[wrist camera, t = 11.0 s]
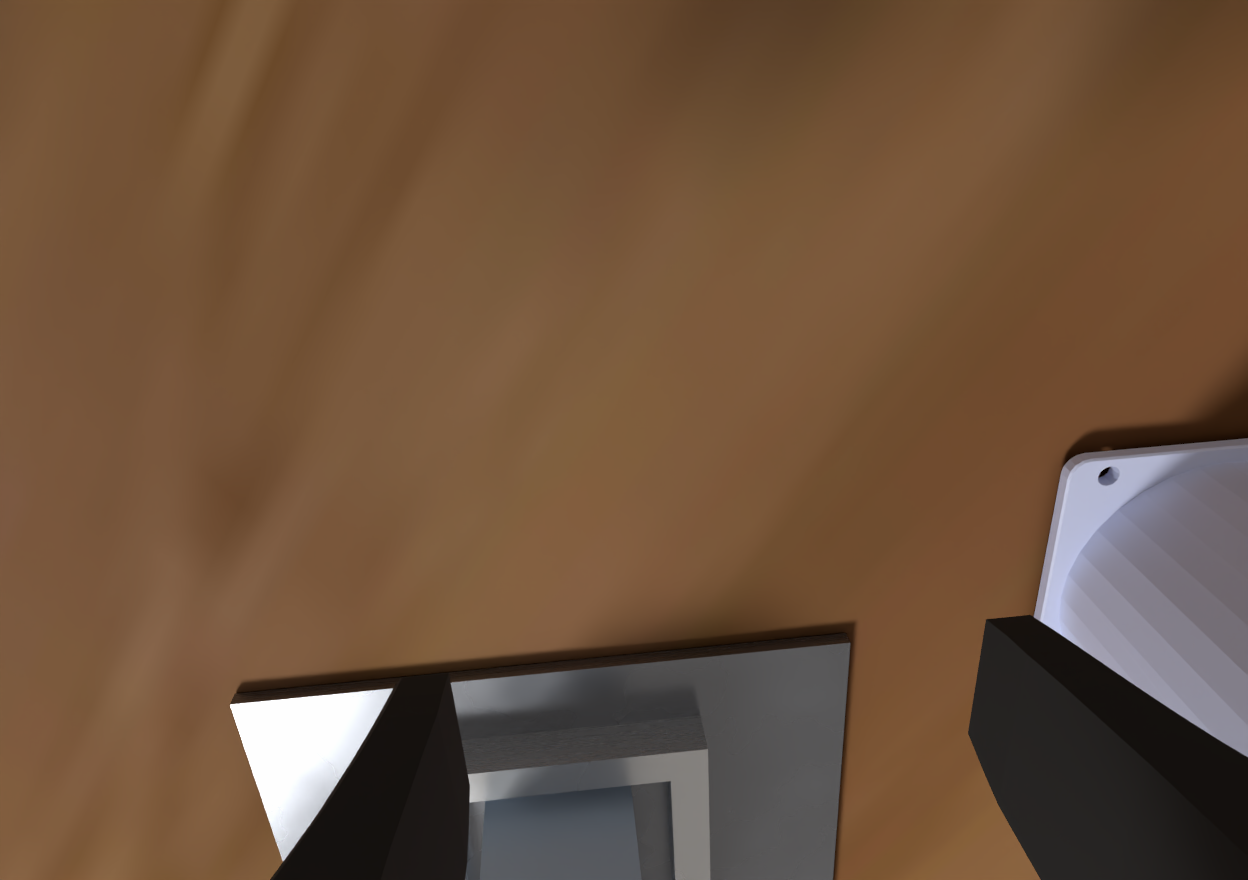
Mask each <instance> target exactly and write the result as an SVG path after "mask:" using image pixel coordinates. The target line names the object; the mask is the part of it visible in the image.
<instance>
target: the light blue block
mask: <svg viewBox="0 0 1248 880" xmlns="http://www.w3.org/2000/svg"><path fill="white" fill-rule="evenodd" d="M480 880H642V879H641V870H640V861H639V852H638V843H637V835H636V826H635V817H634V808H633V799H632V791H631V785H629V786H620V787H611V788H601V789H592V790H582V791H573V792H564V793H554V794H545V795H536V796H526V797H517V798H507V799H498V800H489V801H485V811H484V825H483V839H482V854H481V868H480Z"/></svg>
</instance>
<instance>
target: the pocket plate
mask: <svg viewBox="0 0 1248 880" xmlns="http://www.w3.org/2000/svg"><path fill="white" fill-rule="evenodd" d="M849 656H850V641H849V639H848V636H847V634H846V633H840V634H830V635H820V636H810V637H800V638H790V639H780V640H770V641H760V642H750V643H740V644H730V645H720V646H709V647H699V648H689V649H679V650H669V651H659V652H649V653H639V654H629V655H619V656H609V657H599V658H589V659H579V660H569V661H559V662H549V663H539V664H529V665H518V666H508V667H498V668H488V669H478V670H468V671H458V672H448V673H449V676H450V681H451V687H452V692H453V697H454V703H455V708H456V713H457V719H458V724H459V729H460V735H461V740H462V745H463V751H464V756H465V762H466V767H467V772H468V778H469V783H470V803H469V834H468V858H467V868H466V876H465V880H480V868H481V854H482V839H483V825H484V811H485V801H489V800H498V799H507V798H517V797H526V796H536V795H545V794H554V793H564V792H573V791H582V790H592V789H601V788H611V787H620V786H629V785H631V791H632V799H633V808H634V817H635V826H636V835H637V843H638V852H639V861H640V870H641V879H642V880H833V871H834V858H835V844H836V831H837V817H838V804H839V790H840V777H841V763H842V750H843V736H844V723H845V709H846V696H847V683H848V669H849ZM438 674H443V673H438ZM428 675H433V674H428ZM418 676H423V675H418ZM408 677H413V676H408ZM401 678H403V677H398V678H388V679H378V680H368V681H358V682H348V683H338V684H327V685H317V686H307V687H297V688H287V689H277V690H267V691H257V692H247V693H237V694H235V695H234V697H233V699H232V702H231V704H230V706H231V709H232V712H233V715H234V718H235V721H236V724H237V727H238V730H239V733H240V736H241V739H242V742H243V745H244V747H245V750H246V753H247V756H248V759H249V762H250V765H251V768H252V771H253V774H254V777H255V780H256V783H257V786H258V789H259V792H260V795H261V798H262V801H263V804H264V807H265V810H266V813H267V816H268V819H269V822H270V825H271V828H272V831H273V833H274V836H275V839H276V842H277V845H278V848H279V851H280V854H281V857H282V860H283V861H284V860H285V859H286V857H287V856H288V854H289V853H290V852H291V850H292V849H293V848H294V846H295V845H296V843H297V842H298V841H299V839H300V838H301V836H302V835H303V834H304V832H305V831H306V829H307V828H308V827H309V825H310V824H311V823H312V821H313V820H314V818H315V817H316V815H317V814H318V812H319V811H320V809H321V808H322V806H323V805H324V803H325V802H326V800H327V798H328V797H329V795H330V794H331V792H332V791H333V789H334V788H335V786H336V785H337V783H338V781H339V780H340V778H341V777H342V775H343V774H344V772H345V771H346V769H347V767H348V766H349V764H350V763H351V761H352V760H353V758H354V756H355V755H356V753H357V751H358V750H359V748H360V746H361V745H362V743H363V741H364V740H365V738H366V736H367V735H368V733H369V731H370V729H371V728H372V726H373V724H374V722H375V721H376V719H377V717H378V715H379V714H380V712H381V710H382V708H383V706H384V705H385V703H386V701H387V699H388V697H389V695H390V694H391V692H392V690H393V688H394V686H395V685H396V684H397V683H398V682H399V680H400V679H401Z"/></svg>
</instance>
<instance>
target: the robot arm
mask: <svg viewBox="0 0 1248 880" xmlns="http://www.w3.org/2000/svg"><path fill="white" fill-rule="evenodd" d="M1107 467H1110V469H1109V471H1108V473H1106V474H1105V475H1104V476H1102V477H1099V478H1098V476H1099V474H1100V472H1101V471H1103V470H1104V469H1105V468H1107ZM968 734H969V736H970V739H971V741H972V744H973V746H974V749H975V751H976V754H977V756H978V759H979V761H980V763H981V766H982V768H983V771H984V773H985V776H986V778H987V780H988V782H989V785H990V787H991V789H992V792H993V794H994V796H995V798H996V801H997V803H998V805H999V807H1000V809H1001V810H1002V812H1003V814H1004V816H1005V818H1006V819H1007V821H1008V823H1009V825H1010V826H1011V828H1012V830H1013V832H1014V834H1015V835H1016V837H1017V839H1018V841H1019V842H1020V844H1021V846H1022V848H1023V849H1024V851H1025V853H1026V855H1027V856H1028V858H1029V860H1030V862H1031V863H1032V865H1033V867H1034V868H1035V870H1036V872H1037V874H1038V875H1039V877H1040V879H1041V880H1248V438H1244V439H1233V440H1222V441H1211V442H1200V443H1189V444H1178V445H1167V446H1156V447H1145V448H1134V449H1123V450H1112V451H1101V452H1090V453H1083V454H1079V455H1076V456H1074V457H1073V458H1071V459H1070V460H1069V461H1068V462H1067V463H1066V464H1065V465H1064V467H1063V469H1062V472H1061V476H1060V481H1059V486H1058V492H1057V497H1056V502H1055V507H1054V513H1053V518H1052V523H1051V529H1050V534H1049V539H1048V545H1047V550H1046V555H1045V560H1044V566H1043V571H1042V576H1041V582H1040V587H1039V592H1038V598H1037V603H1036V608H1035V613H1034V617H1033V616H1031V615H1026V616H1016V617H1006V618H996V619H986V624H985V630H984V636H983V643H982V649H981V655H980V662H979V668H978V674H977V681H976V687H975V693H974V699H973V706H972V712H971V718H970V725H969V731H968ZM469 803H470V783H469V778H468V772H467V767H466V762H465V756H464V751H463V745H462V740H461V735H460V729H459V724H458V719H457V713H456V708H455V703H454V697H453V692H452V687H451V681H450V676H449V673H443V674H433V675H423V676H413V677H403V678H401V679H400V680H399V682H398V683H397V684H396V685H395V686H394V688H393V690H392V692H391V694H390V695H389V697H388V699H387V701H386V703H385V705H384V706H383V708H382V710H381V712H380V714H379V715H378V717H377V719H376V721H375V722H374V724H373V726H372V728H371V729H370V731H369V733H368V735H367V736H366V738H365V740H364V741H363V743H362V745H361V746H360V748H359V750H358V751H357V753H356V755H355V756H354V758H353V760H352V761H351V763H350V764H349V766H348V767H347V769H346V771H345V772H344V774H343V775H342V777H341V778H340V780H339V781H338V783H337V785H336V786H335V788H334V789H333V791H332V792H331V794H330V795H329V797H328V798H327V800H326V802H325V803H324V805H323V806H322V808H321V809H320V811H319V812H318V814H317V815H316V817H315V818H314V820H313V821H312V823H311V824H310V825H309V827H308V828H307V829H306V831H305V832H304V834H303V835H302V836H301V838H300V839H299V841H298V842H297V843H296V845H295V846H294V848H293V849H292V850H291V852H290V853H289V854H288V856H287V857H286V859H285V860H284V861H283V863H282V864H281V866H280V867H279V868H278V870H277V871H276V873H275V874H274V875H273V877H272V878H271V879H270V880H465V876H466V868H467V858H468V834H469Z"/></svg>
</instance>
